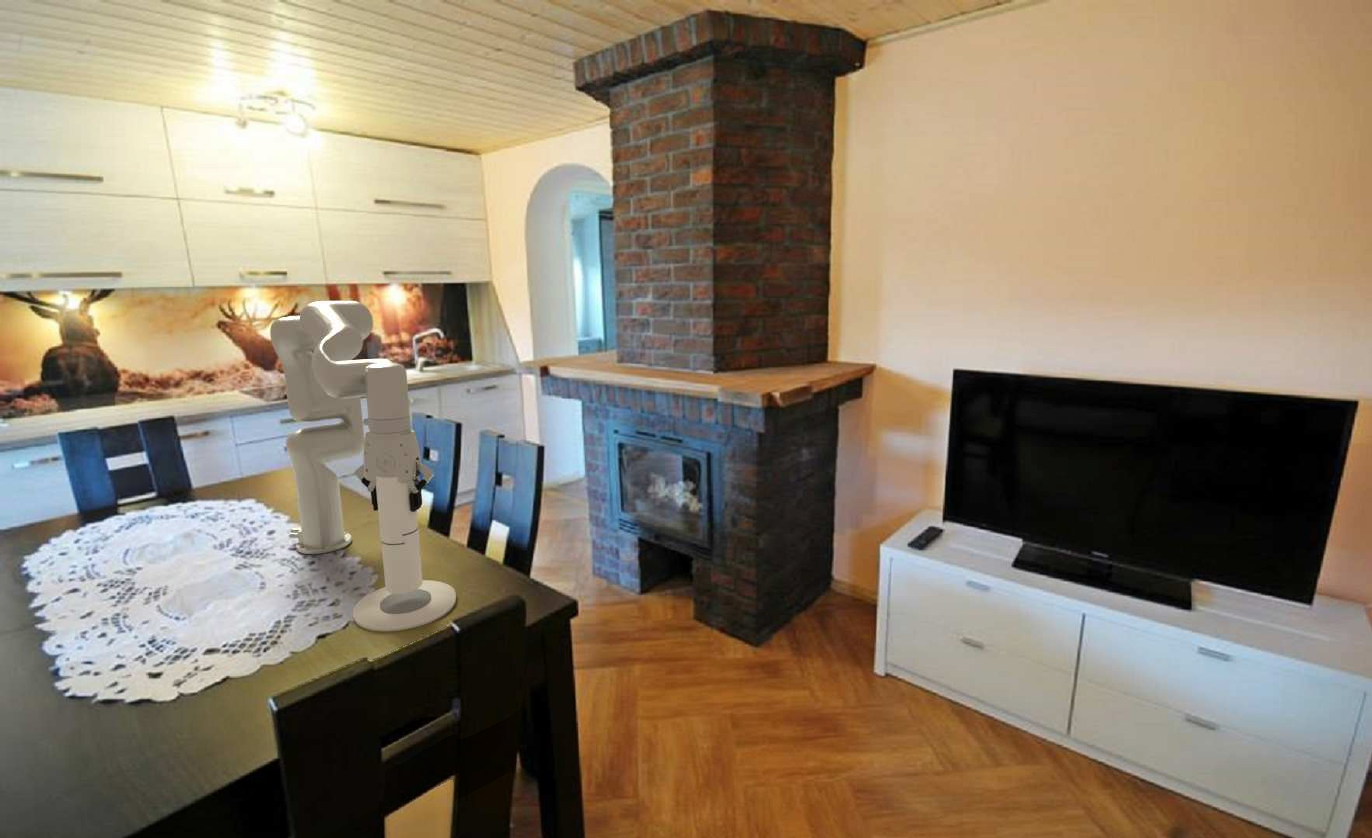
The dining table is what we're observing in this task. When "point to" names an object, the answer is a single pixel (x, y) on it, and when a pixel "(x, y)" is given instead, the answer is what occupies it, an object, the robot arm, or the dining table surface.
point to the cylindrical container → (398, 536)
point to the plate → (404, 607)
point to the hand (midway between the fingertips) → (397, 508)
